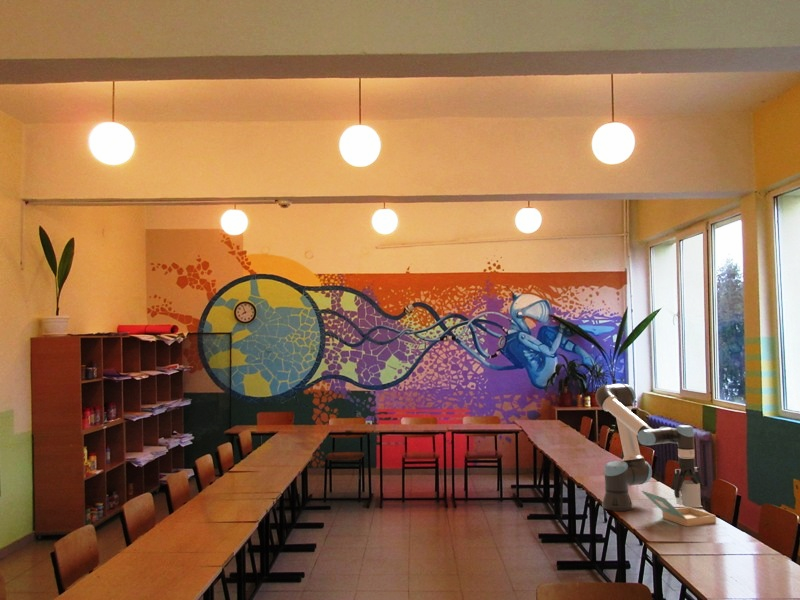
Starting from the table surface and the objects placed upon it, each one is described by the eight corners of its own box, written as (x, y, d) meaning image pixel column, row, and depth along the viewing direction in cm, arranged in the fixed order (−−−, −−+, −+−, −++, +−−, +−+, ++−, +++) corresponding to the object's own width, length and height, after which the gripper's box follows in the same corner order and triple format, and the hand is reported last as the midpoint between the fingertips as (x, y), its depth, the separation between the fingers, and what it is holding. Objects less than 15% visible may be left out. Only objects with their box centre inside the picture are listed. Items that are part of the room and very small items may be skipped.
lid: (685, 518, 323) (684, 519, 323) (662, 510, 337) (662, 511, 337) (664, 497, 319) (663, 499, 319) (642, 490, 334) (641, 491, 334)
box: (687, 526, 322) (687, 519, 322) (662, 517, 338) (662, 510, 338) (715, 522, 328) (715, 515, 328) (690, 514, 344) (689, 507, 344)
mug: (698, 503, 336) (697, 480, 336) (702, 507, 328) (701, 484, 328) (672, 502, 338) (672, 480, 339) (676, 507, 330) (675, 484, 330)
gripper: (672, 460, 327) (674, 507, 326) (710, 456, 334) (712, 502, 333) (661, 458, 334) (663, 503, 333) (699, 454, 341) (701, 499, 340)
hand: (688, 503), depth 333 cm, fingers closed on mug, 10 cm apart
